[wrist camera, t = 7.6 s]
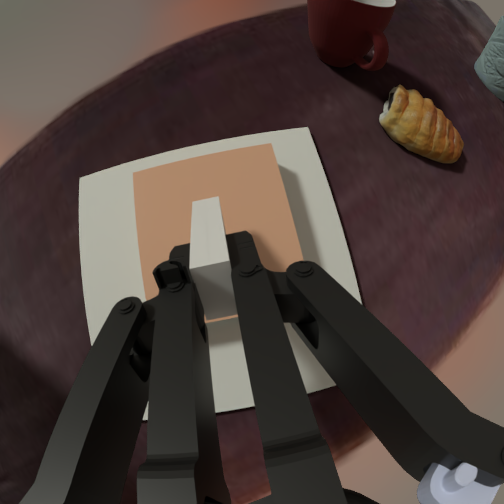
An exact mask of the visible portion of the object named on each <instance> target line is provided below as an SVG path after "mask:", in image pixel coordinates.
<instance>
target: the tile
mask: <svg viewBox="0 0 504 504" xmlns="http://www.w3.org/2000/svg"><path fill="white" fill-rule="evenodd" d="M133 188H134V204H135V216H136V227H137V237H138V247H139V255H140V263H141V271H142V278H143V285H144V291H145V298H146V301H147V300H150V299H152V298H154V297H156V296H157V295H158V294H159V288H158V286H157V283H156V281H155V279H154V276H153V274H152V272H153V270H154V268H155V267H156V266H157V265H159V264H160V263H162V262H164V261H167V260H169V255H170V252H171V250H172V249H173V248H174V246H178V245H183V244H187V243H190V238H191V217H192V202H194V201H198V200H203V199H208V198H212V197H217V196H219V201H220V206H221V211H222V215H223V220H224V225H225V230H226V234H231V233H236V232H241V231H247V232H249V233H250V234H251V235H252V237H253V240H254V243H255V246H256V249H257V252H258V255H259V258H260V261H261V264H263V266H264V267H265V268H266V269H268V270H270V271H274V272H286V269H287V268H288V266H289V265H291V264H292V263H294V262H298V261H304V260H303V256H302V252H301V248H300V244H299V240H298V236H297V232H296V228H295V225H294V221H293V217H292V213H291V210H290V206H289V202H288V199H287V195H286V192H285V188H284V185H283V181H282V178H281V174H280V171H279V167H278V164H277V160H276V157H275V154H274V150H273V147H272V144H271V143H268V144H262V145H256V146H250V147H244V148H238V149H233V150H227V151H222V152H217V153H212V154H207V155H203V156H198V157H193V158H189V159H185V160H180V161H176V162H172V163H168V164H164V165H160V166H156V167H152V168H148V169H145V170H141V171H137V172H134V173H133ZM236 317H238V314H237V315H232V316H227V317H222V318H217V319H212V320H206V317H205V314H204V318H205V324H206V323H211V322H216V321H221V320H226V319H231V318H236Z"/></svg>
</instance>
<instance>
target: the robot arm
mask: <svg viewBox="0 0 504 504" xmlns="http://www.w3.org/2000/svg"><path fill="white" fill-rule="evenodd" d="M152 274H153V276H154V279H155V281H156V283H157V286H158V288H159V294H158V295H157V296H156V297H154V298H152V299H150V300H147V301H145V302H143V303H142V301H141V299H139V298H138V297H134V296H131V297H126V298H124V299H121V300H120V301H119V302H117V303H116V304H115V305H114V307H113V308H112V310H111V312H110V314H109V315H108V317H107V319H106V321H105V323H104V324H103V326H102V328H101V330H100V332H99V334H98V336H97V338H96V339H95V341H94V343H93V345H92V347H91V349H90V351H89V353H88V355H87V357H86V359H85V361H84V363H83V365H82V367H81V369H80V371H79V373H78V375H77V378H76V380H75V382H74V384H73V386H72V388H71V390H70V393H69V395H68V397H67V399H66V402H65V404H64V406H63V408H62V411H61V413H60V415H59V418H58V420H57V423H56V425H55V428H54V430H53V433H52V435H51V438H50V440H49V443H48V445H47V448H46V451H45V454H44V456H43V459H42V462H41V465H40V468H39V471H38V474H37V477H36V480H35V483H34V484H33V485H32V487H31V488H30V489H29V491H28V492H27V493H26V495H25V496H24V498H23V499H22V500H21V502H20V503H19V504H120V500H121V496H122V492H123V488H124V484H125V481H126V477H127V473H128V469H129V465H130V462H131V458H132V454H133V451H134V447H135V444H136V440H137V437H138V433H139V430H140V427H141V423H142V420H143V416H144V413H145V410H146V407H147V403H148V426H147V459H146V462H145V463H143V464H142V465H140V467H139V469H138V472H137V504H231V499H230V494H229V491H228V488H227V485H226V483H225V480H224V475H223V468H222V461H221V454H220V446H219V438H218V430H217V422H216V413H215V404H214V395H213V385H212V375H211V364H210V353H209V340H208V329H207V326H206V324H205V318H204V314H205V317H206V320H212V319H217V318H222V317H227V316H232V315H237V314H238V320H239V325H240V331H241V336H242V342H243V347H244V353H245V358H246V363H247V369H248V374H249V379H250V384H251V390H252V395H253V400H254V405H255V410H256V415H257V420H258V425H259V430H260V435H261V439H262V444H263V450H264V459H265V465H266V469H267V474H268V479H269V483H270V488H271V492H272V494H271V495H269V496H267V497H264V498H262V499H259V500H257V501H254V502H252V503H249V504H379V503H377V502H375V501H374V500H371V499H370V498H368V497H366V496H364V495H362V494H360V493H357V492H355V491H352V490H348V489H344V488H342V486H341V482H340V479H339V476H338V473H337V470H336V467H335V464H334V461H333V458H332V455H331V452H330V449H329V447H328V444H327V442H326V440H325V439H324V438H323V437H322V436H321V434H320V431H319V428H318V425H317V422H316V419H315V416H314V413H313V410H312V407H311V404H310V401H309V398H308V395H307V392H306V389H305V386H304V383H303V380H302V377H301V374H300V371H299V368H298V365H297V362H296V359H295V356H294V353H293V350H292V347H291V344H290V341H289V338H288V335H287V332H286V329H285V326H284V323H290V324H291V326H292V328H293V329H294V330H295V331H296V333H297V334H298V335H299V337H300V338H301V339H302V341H303V342H304V343H305V345H306V346H307V347H308V349H309V350H310V351H311V353H312V354H313V355H314V356H315V358H316V359H317V360H318V362H319V363H320V364H321V366H322V367H323V368H324V369H325V371H326V372H327V373H328V375H329V376H330V377H331V379H332V380H333V381H334V382H335V384H336V385H337V386H338V388H339V389H340V390H341V392H342V393H343V394H344V395H345V397H346V398H347V399H348V401H349V402H350V403H351V404H352V406H353V407H354V408H355V410H356V411H357V412H358V413H359V415H360V416H361V417H362V419H363V420H364V421H365V422H366V424H367V425H368V426H369V427H370V429H371V430H372V431H373V433H374V434H375V435H376V436H377V438H378V439H379V440H380V441H381V443H382V444H383V445H384V446H385V448H386V449H387V450H388V452H389V453H390V454H391V455H392V457H393V458H394V459H395V460H396V461H397V462H398V464H399V465H400V466H401V467H402V468H403V469H404V470H405V471H406V472H407V473H408V474H410V475H411V476H412V477H413V478H415V479H416V480H418V481H419V482H420V484H419V486H418V489H417V498H418V500H419V503H420V504H491V502H492V501H493V499H494V497H495V494H496V492H497V491H498V489H499V487H500V485H501V484H503V483H504V427H501V426H499V425H497V424H495V423H493V422H490V421H489V420H486V419H484V418H482V417H480V416H478V415H476V414H474V413H472V412H470V411H469V410H468V409H467V408H466V407H465V406H464V405H463V403H462V402H461V401H460V400H459V399H458V398H457V397H456V396H455V395H454V394H453V393H452V392H451V391H450V390H449V389H448V388H447V387H446V386H445V385H444V384H443V383H442V382H441V381H440V380H439V379H438V378H437V377H436V376H435V375H434V374H433V373H432V372H431V371H430V370H429V369H428V368H427V367H426V366H425V365H424V364H423V363H422V362H421V361H420V360H419V359H418V358H417V357H416V356H415V355H414V354H413V353H412V352H411V351H410V350H409V349H408V348H407V347H406V346H405V345H404V344H403V343H402V342H401V341H400V340H399V339H398V338H397V337H396V336H395V335H393V334H392V333H391V332H390V331H389V330H388V329H387V328H386V327H385V326H384V325H383V324H382V323H381V322H380V321H379V320H378V319H377V318H376V317H375V316H374V315H373V314H371V313H370V312H369V311H368V310H367V309H366V308H365V307H364V306H363V305H362V304H361V303H360V302H359V301H358V300H356V299H355V298H354V297H353V296H352V295H351V294H350V293H349V292H348V291H347V290H346V289H345V288H344V287H342V286H341V285H340V284H339V283H338V282H337V281H336V280H335V279H334V278H333V277H331V276H330V275H329V274H328V273H327V272H326V271H325V270H324V269H323V268H322V267H320V266H319V265H318V264H316V263H315V262H312V261H298V262H294V263H292V264H291V265H289V266H288V268H287V269H286V272H274V271H270V270H268V269H266V268H265V267H264V266H263V264H261V261H260V258H259V255H258V252H257V249H256V246H255V243H254V240H253V237H252V235H251V234H250V233H249V232H247V231H241V232H236V233H231V234H226V230H225V225H224V220H223V215H222V211H221V206H220V201H219V196H217V197H212V198H208V199H203V200H198V201H194V202H192V217H191V238H190V243H187V244H183V245H178V246H174V248H173V249H172V250H171V252H170V255H169V260H167V261H164V262H162V263H160V264H159V265H157V266H156V267H155V268H154V270H153V272H152Z"/></svg>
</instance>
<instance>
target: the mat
mask: <svg viewBox="0 0 504 504" xmlns="http://www.w3.org/2000/svg"><path fill="white" fill-rule="evenodd" d="M268 143H271V144H272V147H273V150H274V154H275V157H276V160H277V164H278V167H279V171H280V174H281V178H282V181H283V185H284V188H285V192H286V195H287V199H288V202H289V206H290V210H291V213H292V217H293V221H294V225H295V228H296V232H297V236H298V240H299V244H300V248H301V252H302V256H303V260H304V261H312V262H315V263H316V264H318V265H319V266H320V267H322V268H323V269H324V270H325V271H326V272H327V273H328V274H329V275H330V276H331V277H333V278H334V279H335V280H336V281H337V282H338V283H339V284H340V285H341V286H342V287H344V288H345V289H346V290H347V291H348V292H349V293H350V294H351V295H352V296H353V297H354V298H355V299H356V300H358V301H359V302H360V303H361V304H362V302H361V298H360V293H359V289H358V285H357V281H356V277H355V273H354V269H353V265H352V262H351V258H350V254H349V250H348V247H347V243H346V240H345V236H344V233H343V229H342V226H341V223H340V219H339V216H338V213H337V209H336V206H335V203H334V200H333V197H332V194H331V191H330V188H329V185H328V182H327V179H326V176H325V173H324V170H323V167H322V164H321V161H320V159H319V156H318V153H317V150H316V148H315V145H314V142H313V139H312V137H311V134H310V132H309V129H308V127H305V128H296V129H288V130H280V131H273V132H266V133H259V134H253V135H247V136H241V137H235V138H230V139H224V140H219V141H214V142H209V143H204V144H200V145H195V146H190V147H186V148H182V149H178V150H173V151H169V152H165V153H161V154H157V155H154V156H150V157H146V158H142V159H139V160H135V161H132V162H128V163H125V164H122V165H118V166H115V167H112V168H109V169H106V170H102V171H99V172H96V173H93V174H90V175H87V176H84V177H82V178H80V184H79V239H80V258H81V271H82V282H83V292H84V300H85V308H86V315H87V322H88V328H89V334H90V340H91V345H93V343H94V341H95V339H96V338H97V336H98V334H99V332H100V330H101V328H102V326H103V324H104V323H105V321H106V319H107V317H108V315H109V314H110V312H111V310H112V308H113V307H114V305H115V304H116V303H117V302H119V301H120V300H121V299H124V298H126V297H131V296H134V297H138V298H139V299H141V301H142V303H143V302H145V301H146V298H145V291H144V285H143V278H142V271H141V263H140V255H139V247H138V237H137V227H136V216H135V204H134V188H133V173H134V172H137V171H141V170H145V169H148V168H152V167H156V166H160V165H164V164H168V163H172V162H176V161H180V160H185V159H189V158H193V157H198V156H203V155H207V154H212V153H217V152H222V151H227V150H233V149H238V148H244V147H250V146H256V145H262V144H268ZM206 326H207V329H208V340H209V353H210V364H211V375H212V385H213V395H214V404H215V413H217V412H223V411H230V410H235V409H241V408H246V407H252V406H255V405H254V400H253V395H252V390H251V384H250V379H249V374H248V369H247V363H246V358H245V353H244V347H243V342H242V336H241V331H240V325H239V320H238V317H236V318H231V319H226V320H221V321H216V322H211V323H206ZM284 326H285V329H286V332H287V335H288V338H289V341H290V344H291V347H292V350H293V353H294V356H295V359H296V362H297V365H298V368H299V371H300V374H301V377H302V380H303V383H304V386H305V389H306V392H307V394H308V393H311V392H315V391H318V390H322V389H325V388H329V387H332V386H335V385H336V384H335V382H334V381H333V380H332V379H331V377H330V376H329V375H328V373H327V372H326V371H325V369H324V368H323V367H322V366H321V364H320V363H319V362H318V360H317V359H316V358H315V356H314V355H313V354H312V353H311V351H310V350H309V349H308V347H307V346H306V345H305V343H304V342H303V341H302V339H301V338H300V337H299V335H298V334H297V333H296V331H295V330H294V329H293V328H292V326H291V324H290V323H284ZM143 420H148V403H147V407H146V410H145V413H144V416H143Z"/></svg>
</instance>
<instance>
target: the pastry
mask: <svg viewBox="0 0 504 504" xmlns="http://www.w3.org/2000/svg"><path fill="white" fill-rule="evenodd" d="M383 111H384V113H382V114H381V115H380V118H379V122H380V124H381V126H382V127H383V128H384V129H385V131H386V132H387V134H388V135H389V137H390V138H391V139H392V140H393V141H395V142H396V143H399V144H401V145H403V146H404V147H405V148H406V149H407V150H409V151H412V152H414V153H416V154H419V155H421V156H423V157H426V158H429V159H431V160H434V161H437V162H440V163H453V162H456V161H457V160H458V158H459V157H460V155H461V152H462V149H463V146H464V143H463V141H462V139H461V137H460V135H459V133H458V131H457V130H456V129H455V128H454V127H453V125H452V122H451V121H450V120H449V119H447V118H446V117H445V116H444V114H443V111H442V110H440V109H438V108H436V107H435V106H434V104H433V102H432V100H431V99H428V98H423V97H422V96H421V95H420V94H419V92H418V91H417V90H415V89H413V90H406V89H405V88H404V87H403V86H402V85H398V86H397V87H394V88H393V89H392V90H391V91H390V92H389V99H388V100H387V101H386V102H385V104H384V109H383Z"/></svg>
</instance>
